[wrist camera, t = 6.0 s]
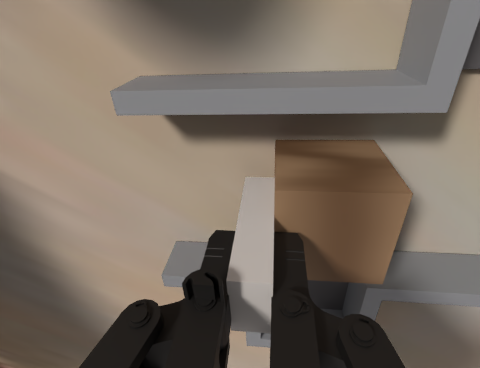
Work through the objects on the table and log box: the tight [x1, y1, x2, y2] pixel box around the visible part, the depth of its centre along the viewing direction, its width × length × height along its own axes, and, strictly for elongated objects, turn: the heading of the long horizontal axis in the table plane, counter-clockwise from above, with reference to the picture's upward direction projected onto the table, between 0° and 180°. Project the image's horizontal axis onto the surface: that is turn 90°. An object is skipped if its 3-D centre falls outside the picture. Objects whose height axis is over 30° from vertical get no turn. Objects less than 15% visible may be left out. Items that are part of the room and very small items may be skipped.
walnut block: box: [274, 140, 413, 284], centre depth 14 cm, size 5×5×5 cm
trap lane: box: [110, 0, 480, 348], centre depth 15 cm, size 23×24×3 cm
